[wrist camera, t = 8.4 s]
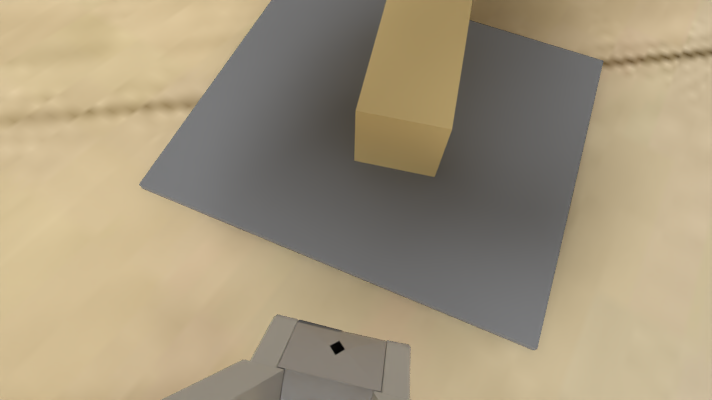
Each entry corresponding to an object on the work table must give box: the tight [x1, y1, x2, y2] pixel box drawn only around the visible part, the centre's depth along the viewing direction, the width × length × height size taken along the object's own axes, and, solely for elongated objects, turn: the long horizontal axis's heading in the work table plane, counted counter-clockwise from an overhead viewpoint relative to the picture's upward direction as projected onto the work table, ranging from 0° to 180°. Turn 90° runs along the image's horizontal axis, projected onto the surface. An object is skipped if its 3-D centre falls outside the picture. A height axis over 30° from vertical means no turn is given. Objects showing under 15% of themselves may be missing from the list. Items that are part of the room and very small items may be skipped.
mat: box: [139, 0, 603, 350], centre depth 29 cm, size 24×21×1 cm
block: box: [354, 0, 473, 177], centre depth 28 cm, size 5×5×12 cm
